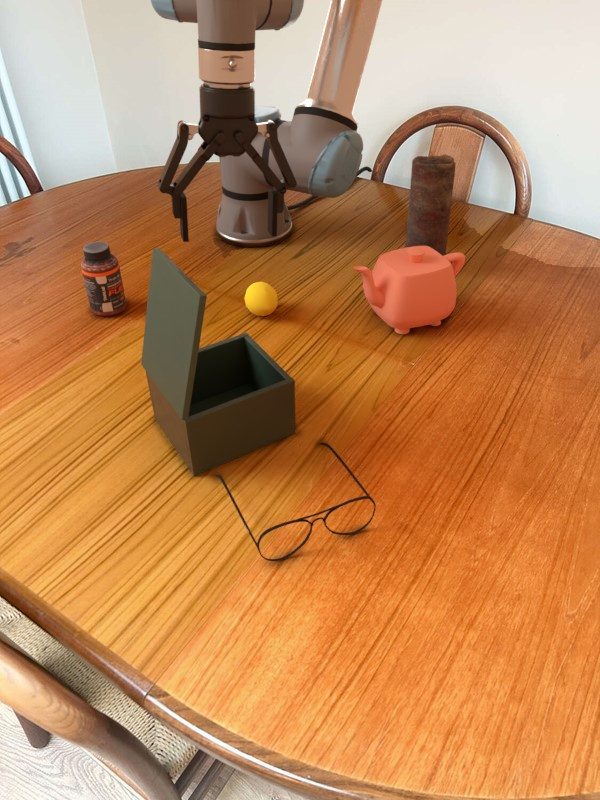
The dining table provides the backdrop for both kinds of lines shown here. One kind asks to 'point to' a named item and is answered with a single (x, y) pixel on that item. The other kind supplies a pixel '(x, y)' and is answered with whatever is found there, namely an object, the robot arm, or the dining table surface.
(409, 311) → the teapot
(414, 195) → the candle
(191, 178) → the robot arm
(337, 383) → the dining table surface
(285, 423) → the chest
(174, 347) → the lid
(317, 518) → the glasses
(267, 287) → the lemon
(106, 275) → the supplement bottle
